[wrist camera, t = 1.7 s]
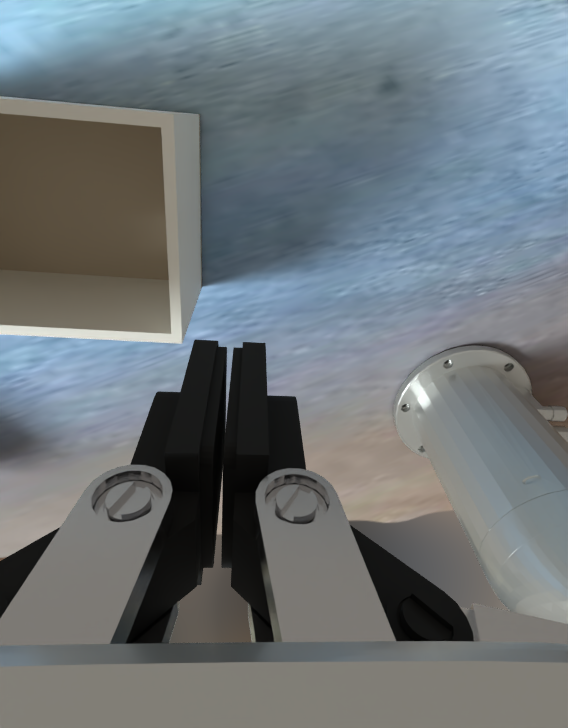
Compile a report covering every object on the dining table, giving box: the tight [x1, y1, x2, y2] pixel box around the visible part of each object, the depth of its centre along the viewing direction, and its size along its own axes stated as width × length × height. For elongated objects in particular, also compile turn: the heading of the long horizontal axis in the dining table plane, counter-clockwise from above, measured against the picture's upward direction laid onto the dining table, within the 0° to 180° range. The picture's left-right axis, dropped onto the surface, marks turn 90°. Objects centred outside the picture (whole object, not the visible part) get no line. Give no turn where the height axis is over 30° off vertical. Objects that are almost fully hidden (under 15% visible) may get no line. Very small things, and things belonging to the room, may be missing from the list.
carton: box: [0, 96, 202, 344], centre depth 27 cm, size 16×12×10 cm
